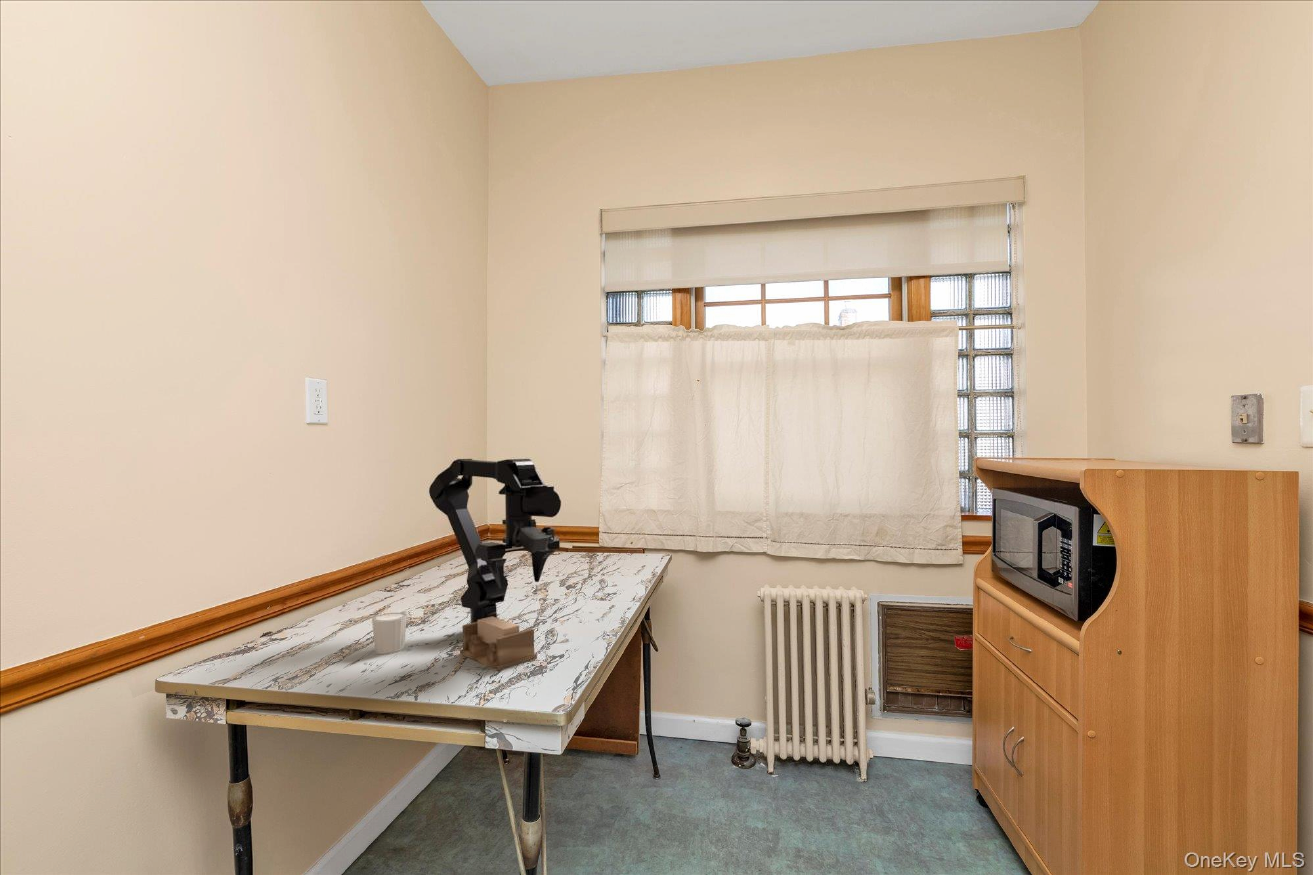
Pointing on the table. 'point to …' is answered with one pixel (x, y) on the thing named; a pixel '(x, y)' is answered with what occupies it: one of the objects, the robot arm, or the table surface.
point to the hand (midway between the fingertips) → (519, 585)
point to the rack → (498, 648)
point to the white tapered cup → (389, 632)
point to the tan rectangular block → (495, 629)
